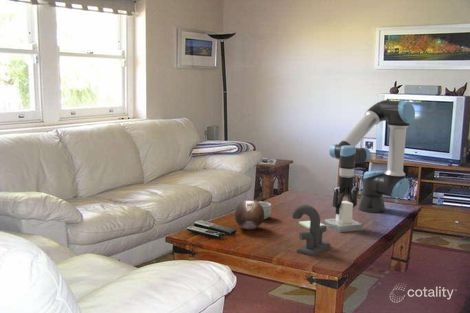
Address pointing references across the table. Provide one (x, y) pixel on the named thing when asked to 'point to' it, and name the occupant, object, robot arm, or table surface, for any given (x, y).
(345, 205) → the peg
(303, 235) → the faucet
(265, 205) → the teacup
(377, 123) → the robot arm
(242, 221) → the bronze metal ball
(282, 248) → the table surface
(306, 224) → the pad
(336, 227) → the socket plate
